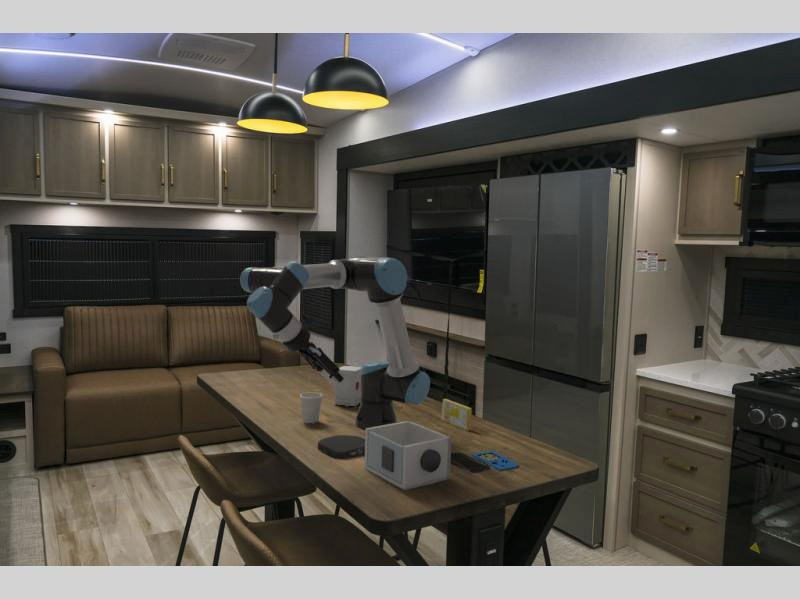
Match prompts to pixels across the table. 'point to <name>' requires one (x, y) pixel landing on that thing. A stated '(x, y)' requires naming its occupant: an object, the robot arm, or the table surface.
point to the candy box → (456, 414)
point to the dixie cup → (311, 406)
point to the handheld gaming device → (497, 461)
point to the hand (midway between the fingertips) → (341, 384)
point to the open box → (416, 453)
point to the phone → (467, 462)
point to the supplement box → (349, 387)
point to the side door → (385, 456)
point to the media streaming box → (342, 446)
